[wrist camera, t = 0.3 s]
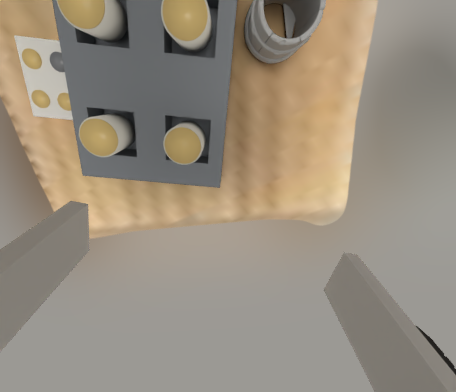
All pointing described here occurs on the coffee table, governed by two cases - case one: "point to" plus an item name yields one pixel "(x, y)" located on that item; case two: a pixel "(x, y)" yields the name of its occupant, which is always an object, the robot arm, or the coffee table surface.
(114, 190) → the coffee table surface
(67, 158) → the coffee table surface
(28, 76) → the card
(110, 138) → the button
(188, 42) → the button
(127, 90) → the console
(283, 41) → the mug
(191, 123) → the button
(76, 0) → the button
